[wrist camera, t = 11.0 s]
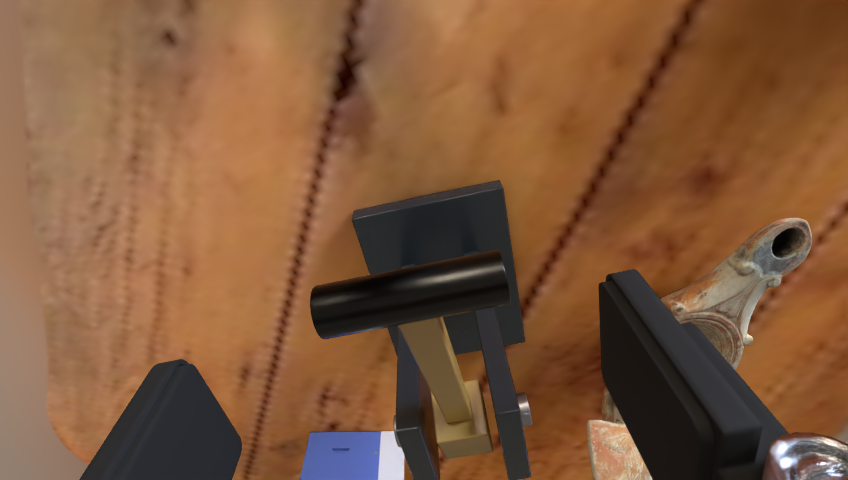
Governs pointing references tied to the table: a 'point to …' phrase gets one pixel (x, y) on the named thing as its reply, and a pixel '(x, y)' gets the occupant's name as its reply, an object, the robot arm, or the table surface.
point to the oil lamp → (707, 328)
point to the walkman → (353, 456)
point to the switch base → (478, 330)
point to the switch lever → (425, 331)
